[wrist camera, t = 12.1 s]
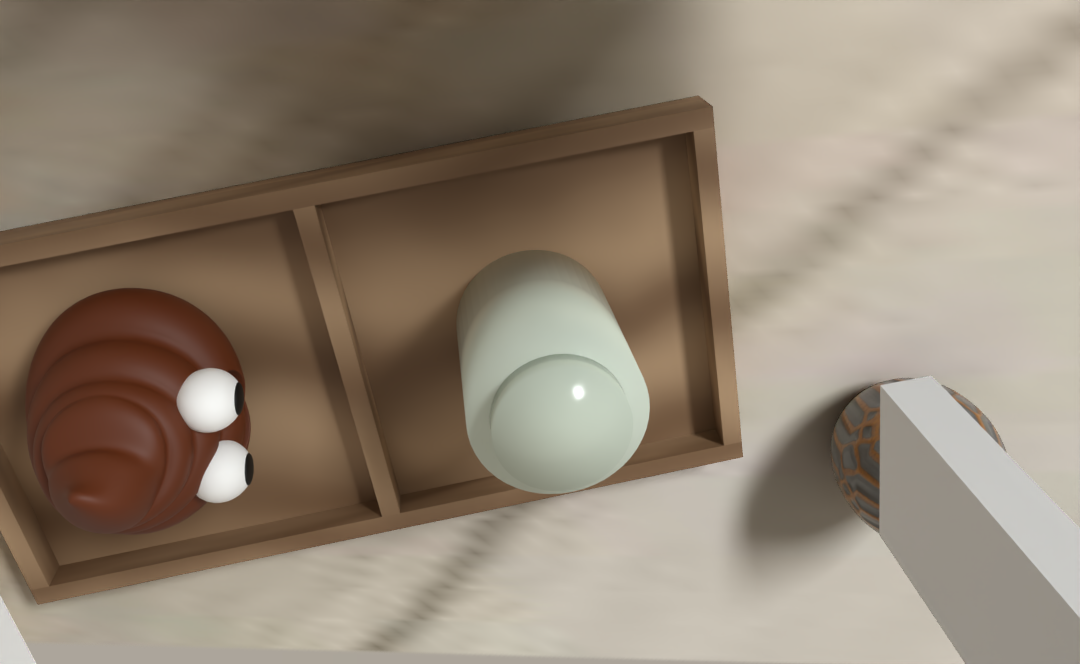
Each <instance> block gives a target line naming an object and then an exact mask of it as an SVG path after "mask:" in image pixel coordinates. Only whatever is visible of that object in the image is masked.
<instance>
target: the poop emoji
mask: <svg viewBox="0 0 1080 664" xmlns="http://www.w3.org/2000/svg"><path fill="white" fill-rule="evenodd" d="M25 412H26V422H27V444H28V451H29V456H30V460H31V464H32V467H33V470H34V472H35V475H36V477H37V480H38V482H39V484H40V486H41V488H42V491H43V492H44V494H45V496H46V498H47V499H48V501H49V502H50V503H51V505H52V506H53V507H54V508H55V509H56V510H57V511H58V512H59V513H60V514H61V515H62V516H63V517H64V518H65V519H66V520H67V521H68V522H70V523H71V524H73V525H74V526H76V527H78V528H80V529H83V530H86V531H89V532H93V533H101V534H126V535H139V534H148V533H153V532H157V531H161V530H164V529H167V528H169V527H172V526H174V525H176V524H178V523H180V522H182V521H184V520H185V519H187V518H189V517H190V516H191V515H193V514H194V513H196V512H197V511H198V510H199V509H201V508H202V507H203V506H204V505H205V504H206V503H207V502H212V503H222V502H227V501H230V500H232V499H234V498H236V497H237V496H239V495H240V494H241V493H242V492H243V491H244V490H245V489H246V488H247V486H248V485H250V484H251V482H252V479H253V473H254V463H253V458H252V455H251V454H250V453H248V451H247V449H248V446H249V441H250V433H251V422H250V415H249V411H248V407H247V404H246V401H245V379H244V375H243V371H242V368H241V365H240V362H239V359H238V357H237V355H236V353H235V351H234V349H233V347H232V345H231V343H230V341H229V340H228V338H227V337H226V335H225V334H224V333H223V331H222V330H221V329H220V328H219V326H218V325H217V324H216V323H215V322H214V321H213V320H212V319H211V318H210V317H209V316H208V315H206V314H205V313H204V312H203V311H201V310H200V309H199V308H197V307H196V306H194V305H193V304H191V303H189V302H187V301H185V300H183V299H181V298H179V297H177V296H174V295H171V294H168V293H165V292H162V291H157V290H152V289H145V288H118V289H111V290H106V291H102V292H99V293H96V294H93V295H90V296H88V297H86V298H84V299H82V300H80V301H78V302H76V303H75V304H73V305H72V306H70V307H69V308H68V309H66V310H65V311H64V312H63V313H62V314H61V315H60V316H59V317H58V318H57V319H56V320H55V321H54V322H53V323H52V325H51V326H50V327H49V328H48V330H47V331H46V333H45V334H44V336H43V338H42V339H41V341H40V343H39V345H38V347H37V349H36V352H35V354H34V357H33V359H32V362H31V366H30V369H29V374H28V378H27V385H26V395H25Z"/></svg>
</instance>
